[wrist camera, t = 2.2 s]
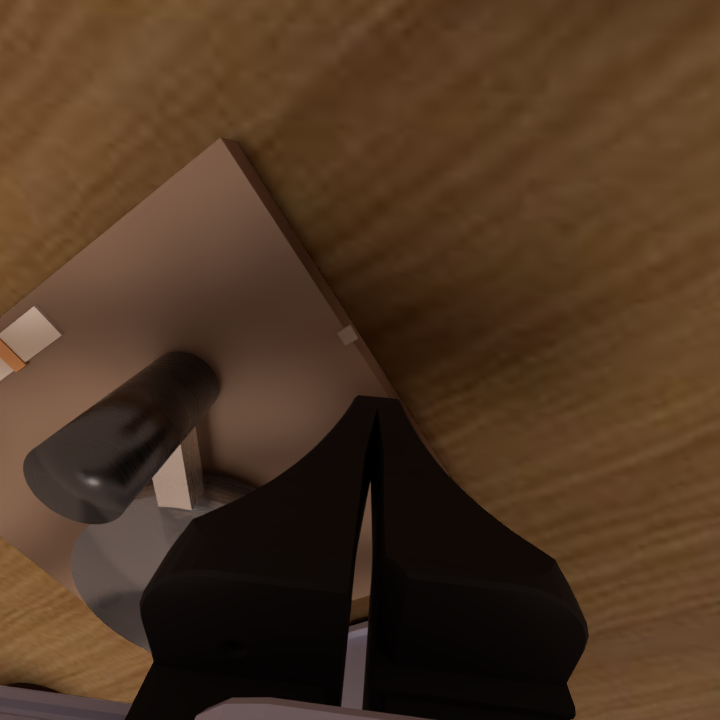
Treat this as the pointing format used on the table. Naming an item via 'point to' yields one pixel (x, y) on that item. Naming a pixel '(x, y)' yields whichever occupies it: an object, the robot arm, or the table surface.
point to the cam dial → (132, 482)
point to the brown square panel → (185, 343)
